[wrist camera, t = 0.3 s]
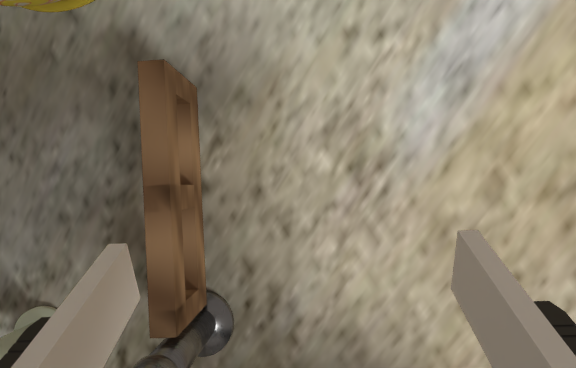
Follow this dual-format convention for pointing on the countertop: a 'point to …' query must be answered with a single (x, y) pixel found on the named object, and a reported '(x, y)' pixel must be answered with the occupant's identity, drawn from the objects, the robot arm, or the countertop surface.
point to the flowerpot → (47, 4)
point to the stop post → (24, 326)
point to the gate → (171, 198)
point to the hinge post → (195, 337)
